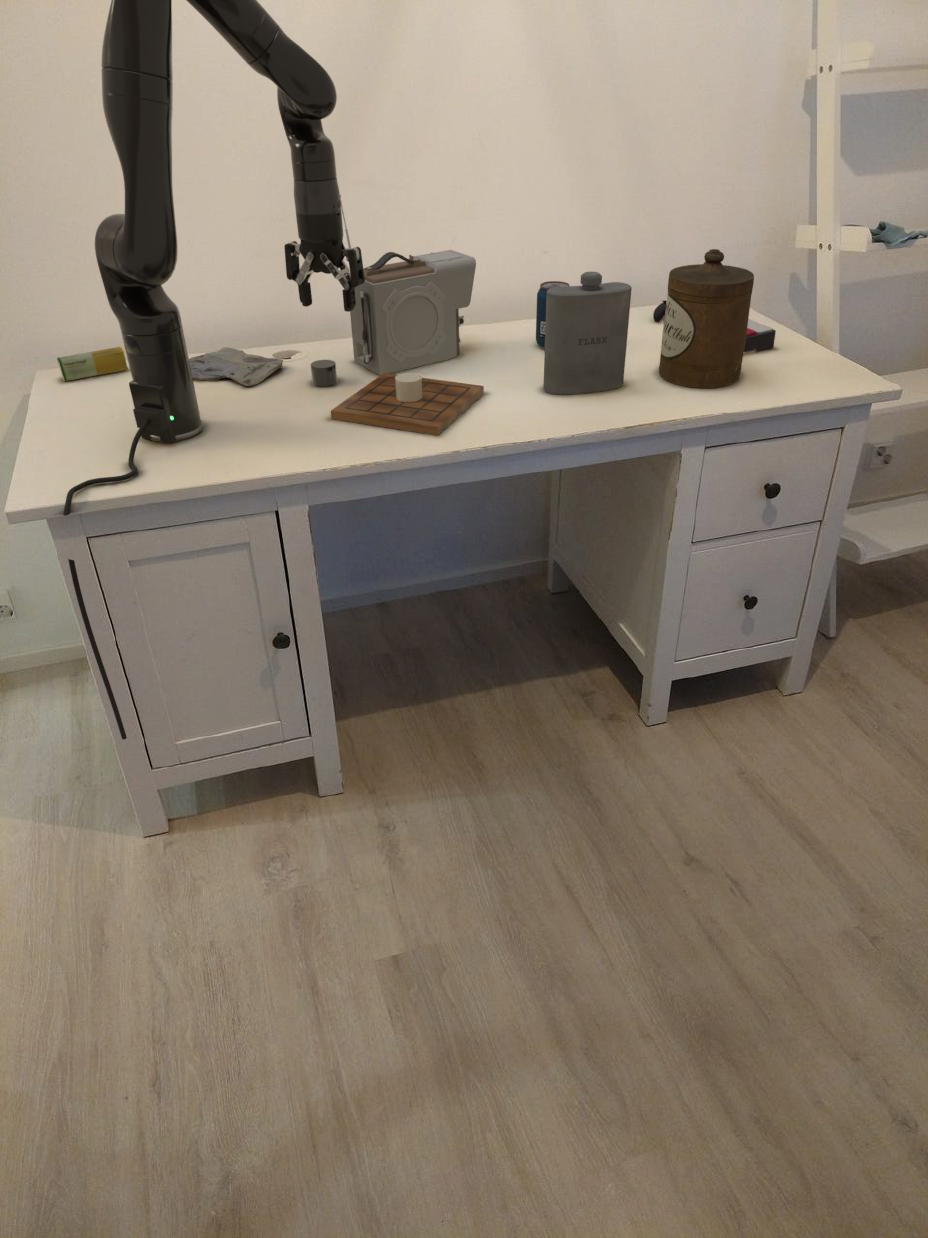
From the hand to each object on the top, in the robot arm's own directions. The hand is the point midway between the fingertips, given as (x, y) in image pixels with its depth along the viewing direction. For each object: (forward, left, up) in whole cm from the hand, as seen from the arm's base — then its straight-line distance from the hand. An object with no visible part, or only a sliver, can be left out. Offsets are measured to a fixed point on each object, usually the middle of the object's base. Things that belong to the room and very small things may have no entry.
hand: (328, 307), depth 156 cm
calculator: (+47, -63, -14) cm, 80 cm away
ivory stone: (-4, -17, -13) cm, 22 cm away
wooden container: (+29, -61, -14) cm, 69 cm away
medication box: (-11, +47, -14) cm, 50 cm away
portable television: (+20, -6, -14) cm, 25 cm away
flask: (+15, -43, -14) cm, 48 cm away
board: (-4, -17, -14) cm, 23 cm away
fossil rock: (-1, +23, -14) cm, 27 cm away
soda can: (+36, -30, -14) cm, 49 cm away
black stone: (+1, +3, -14) cm, 15 cm away
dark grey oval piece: (+62, -49, -14) cm, 81 cm away
